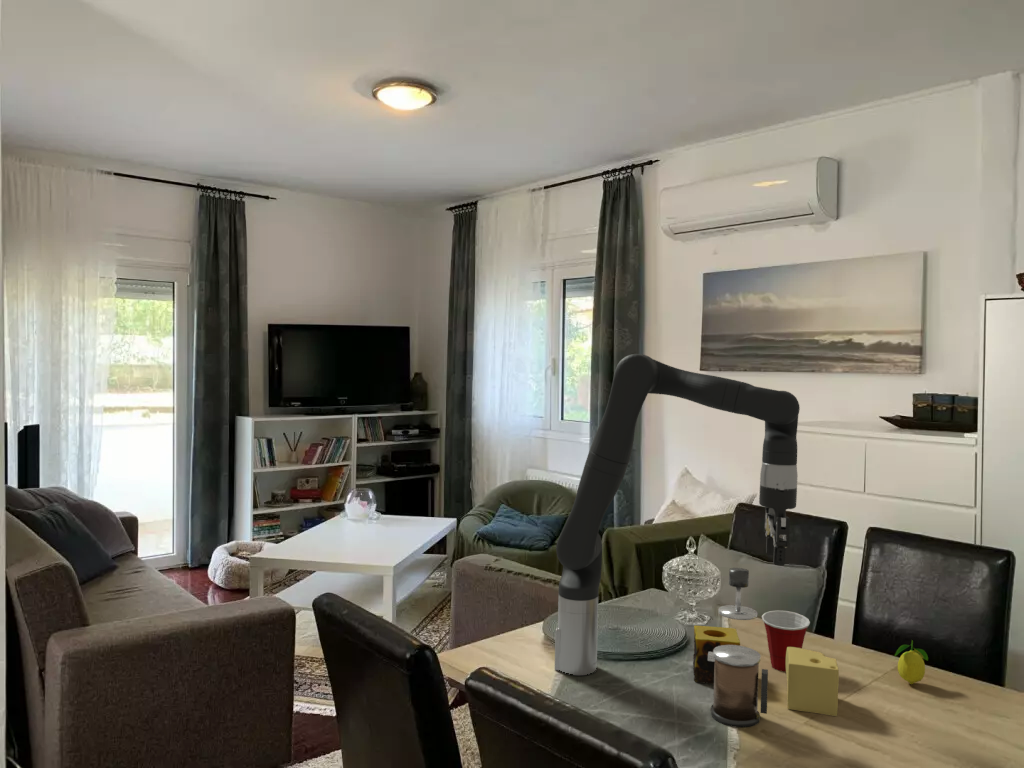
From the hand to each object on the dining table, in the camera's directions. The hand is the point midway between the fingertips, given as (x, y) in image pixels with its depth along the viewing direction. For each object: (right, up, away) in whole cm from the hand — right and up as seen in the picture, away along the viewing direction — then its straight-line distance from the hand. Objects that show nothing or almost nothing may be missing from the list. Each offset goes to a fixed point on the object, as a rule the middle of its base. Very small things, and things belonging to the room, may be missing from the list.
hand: (775, 559), depth 168 cm
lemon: (+34, -31, +10) cm, 46 cm away
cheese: (+7, -30, -2) cm, 31 cm away
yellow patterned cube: (-10, -30, +12) cm, 33 cm away
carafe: (-11, -30, -8) cm, 33 cm away
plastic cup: (+8, -30, +18) cm, 36 cm away
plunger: (-11, -9, -9) cm, 16 cm away
